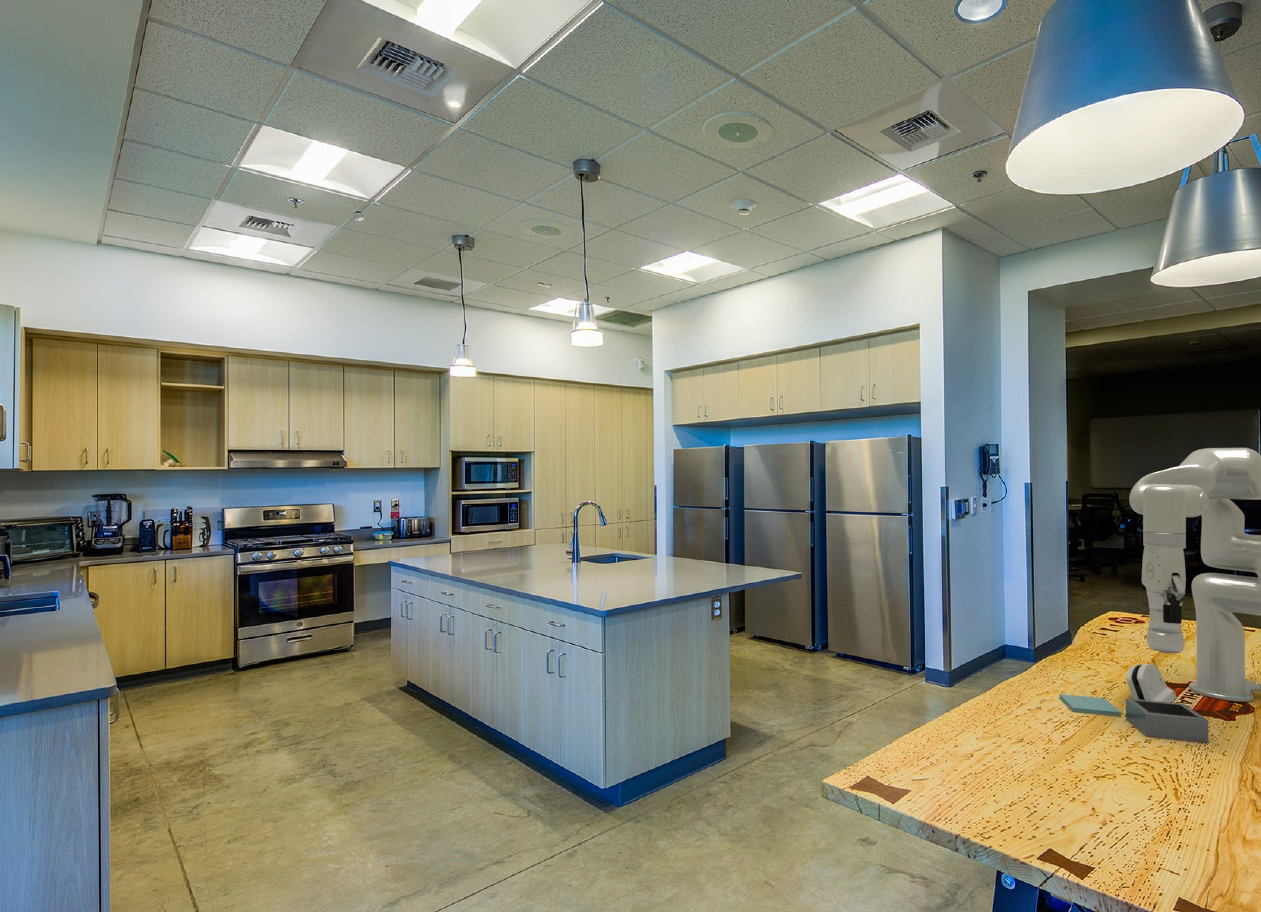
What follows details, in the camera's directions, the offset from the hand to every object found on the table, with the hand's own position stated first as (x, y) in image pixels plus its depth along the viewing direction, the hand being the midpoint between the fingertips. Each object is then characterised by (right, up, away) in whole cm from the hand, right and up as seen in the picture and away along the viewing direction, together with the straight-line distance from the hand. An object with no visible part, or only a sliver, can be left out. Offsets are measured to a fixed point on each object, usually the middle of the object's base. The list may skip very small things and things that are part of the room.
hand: (1164, 618), depth 149 cm
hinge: (+12, -26, +19) cm, 34 cm away
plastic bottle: (0, -8, 0) cm, 8 cm away
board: (-7, -25, +14) cm, 30 cm away
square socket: (0, -25, 0) cm, 25 cm away
